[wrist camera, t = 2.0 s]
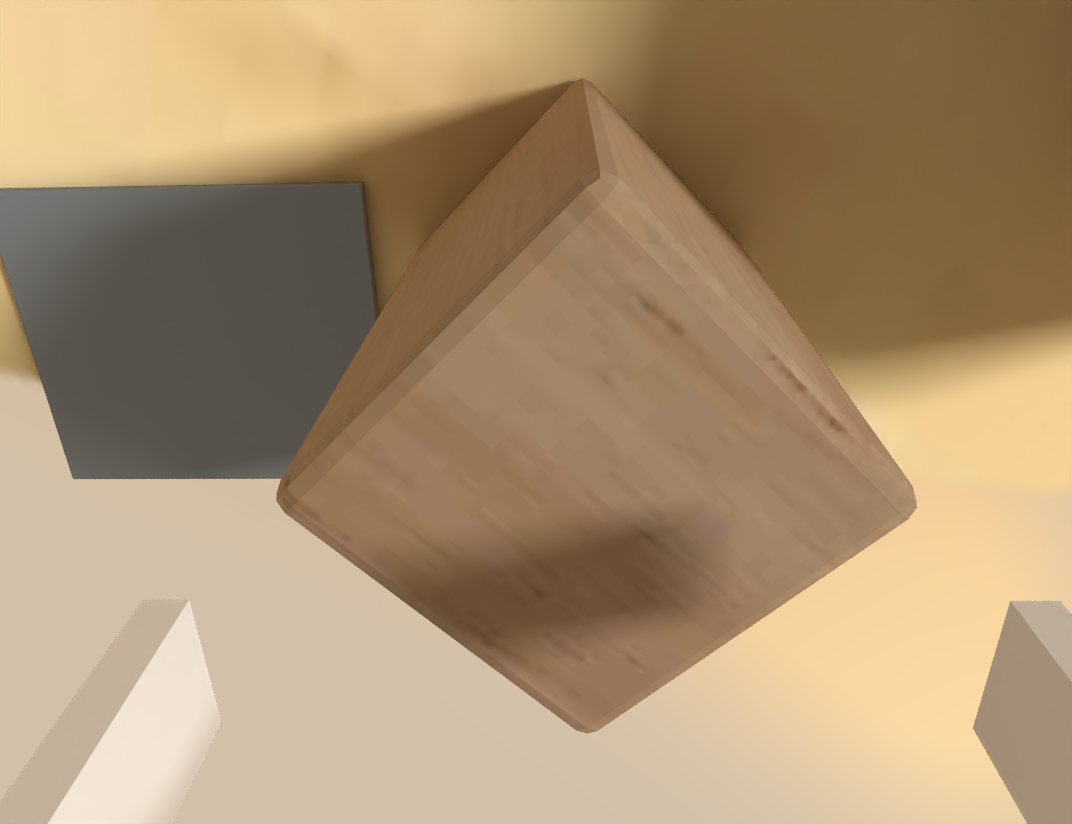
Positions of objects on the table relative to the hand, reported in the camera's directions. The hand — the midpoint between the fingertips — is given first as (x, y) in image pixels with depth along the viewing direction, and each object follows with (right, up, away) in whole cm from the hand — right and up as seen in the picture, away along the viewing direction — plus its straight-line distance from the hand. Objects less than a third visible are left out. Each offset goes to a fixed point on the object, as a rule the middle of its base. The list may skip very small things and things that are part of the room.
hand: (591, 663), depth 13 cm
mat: (-16, +7, +24) cm, 30 cm away
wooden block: (+1, +11, +22) cm, 24 cm away
